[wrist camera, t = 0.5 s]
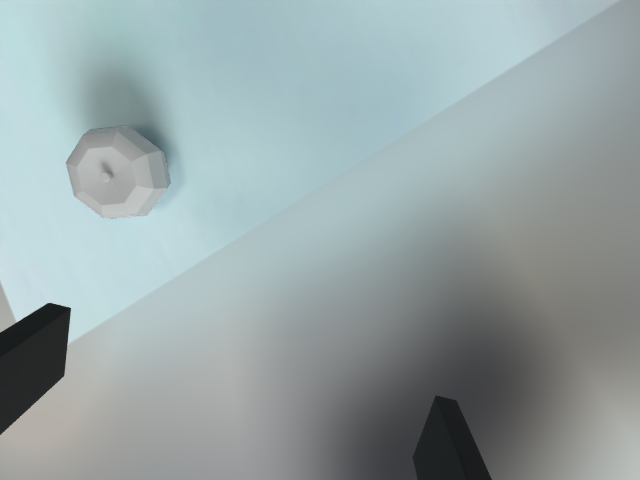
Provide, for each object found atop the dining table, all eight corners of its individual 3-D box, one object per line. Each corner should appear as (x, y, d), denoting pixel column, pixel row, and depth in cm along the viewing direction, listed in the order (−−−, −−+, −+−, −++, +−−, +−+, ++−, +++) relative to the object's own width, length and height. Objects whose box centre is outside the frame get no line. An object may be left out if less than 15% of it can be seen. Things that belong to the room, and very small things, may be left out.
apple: (92, 196, 39) (46, 210, 33) (105, 111, 37) (58, 109, 31) (176, 221, 40) (145, 240, 33) (193, 139, 37) (165, 142, 31)
